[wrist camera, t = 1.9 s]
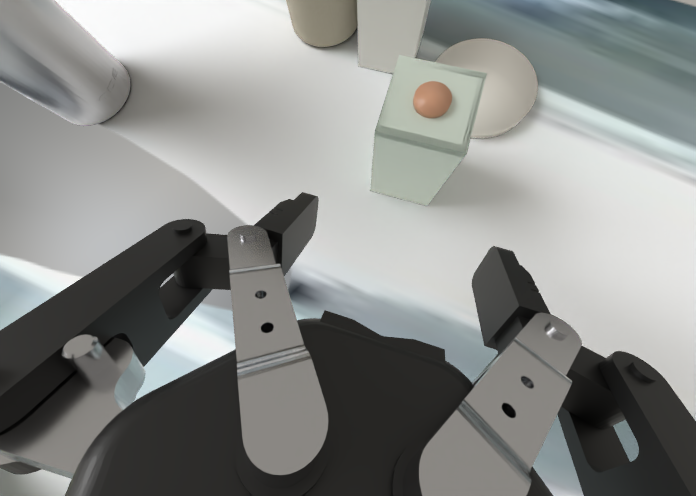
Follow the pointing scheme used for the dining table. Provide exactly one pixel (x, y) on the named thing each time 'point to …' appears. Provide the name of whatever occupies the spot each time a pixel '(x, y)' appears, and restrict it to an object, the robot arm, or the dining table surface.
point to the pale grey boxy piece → (424, 128)
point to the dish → (496, 83)
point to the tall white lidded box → (389, 31)
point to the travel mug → (323, 20)
